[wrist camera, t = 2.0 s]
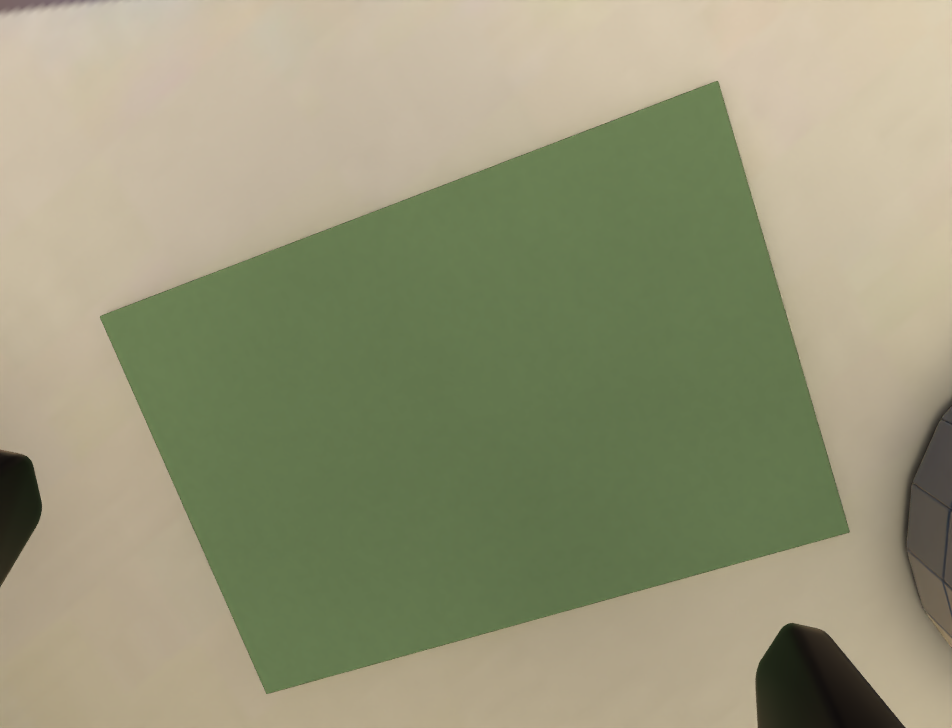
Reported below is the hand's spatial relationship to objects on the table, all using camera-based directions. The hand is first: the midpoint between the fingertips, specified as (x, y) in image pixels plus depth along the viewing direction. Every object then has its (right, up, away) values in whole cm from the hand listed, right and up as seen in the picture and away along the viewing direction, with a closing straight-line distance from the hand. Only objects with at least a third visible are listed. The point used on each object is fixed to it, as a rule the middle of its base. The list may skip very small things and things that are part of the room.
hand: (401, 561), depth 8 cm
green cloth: (+1, +1, +14) cm, 14 cm away
